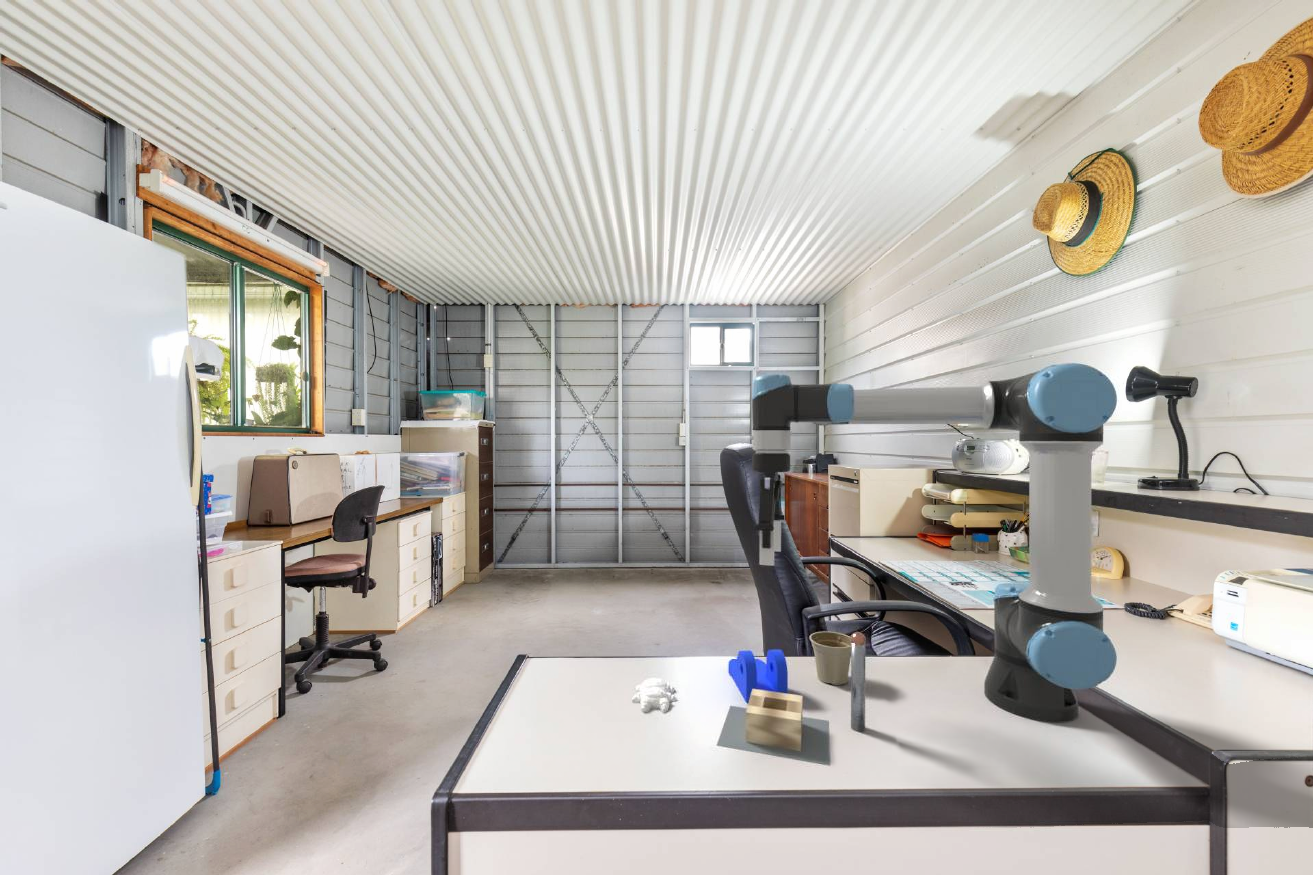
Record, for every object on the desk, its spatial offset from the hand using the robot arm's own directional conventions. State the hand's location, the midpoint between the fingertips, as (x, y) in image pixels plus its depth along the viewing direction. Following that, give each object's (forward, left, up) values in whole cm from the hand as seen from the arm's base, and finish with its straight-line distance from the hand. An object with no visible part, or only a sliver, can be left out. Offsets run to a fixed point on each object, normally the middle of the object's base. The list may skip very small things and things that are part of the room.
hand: (770, 557), depth 107 cm
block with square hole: (-2, +14, -28) cm, 31 cm away
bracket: (+4, -5, -28) cm, 29 cm away
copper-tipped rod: (-16, +8, -28) cm, 33 cm away
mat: (-2, +14, -28) cm, 31 cm away
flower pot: (-12, -12, -28) cm, 33 cm away
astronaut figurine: (+22, +8, -29) cm, 37 cm away
